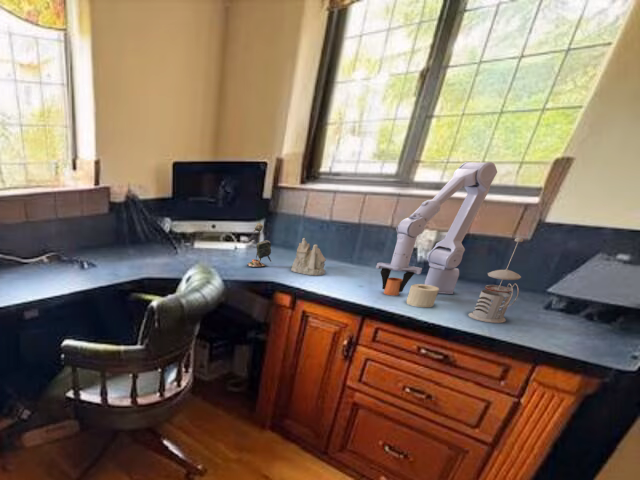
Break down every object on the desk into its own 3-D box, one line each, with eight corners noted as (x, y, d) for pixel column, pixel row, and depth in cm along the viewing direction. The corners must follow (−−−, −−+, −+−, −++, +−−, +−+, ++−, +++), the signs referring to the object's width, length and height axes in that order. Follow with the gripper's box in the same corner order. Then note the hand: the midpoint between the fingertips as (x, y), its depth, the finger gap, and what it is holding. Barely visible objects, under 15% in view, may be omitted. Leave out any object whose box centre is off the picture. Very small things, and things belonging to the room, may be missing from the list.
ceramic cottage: (315, 276, 183) (322, 240, 177) (283, 270, 195) (289, 237, 189) (335, 272, 192) (342, 238, 185) (303, 267, 204) (309, 235, 197)
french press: (491, 312, 140) (524, 234, 128) (518, 324, 130) (556, 241, 118) (461, 312, 140) (490, 234, 128) (485, 325, 130) (520, 241, 118)
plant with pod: (269, 268, 198) (275, 223, 188) (245, 267, 202) (250, 223, 192) (271, 264, 204) (277, 221, 195) (247, 263, 208) (252, 220, 199)
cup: (397, 292, 162) (401, 277, 159) (400, 296, 157) (404, 281, 155) (382, 291, 163) (386, 277, 160) (384, 295, 159) (388, 280, 156)
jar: (429, 301, 151) (435, 284, 148) (436, 308, 145) (442, 291, 142) (403, 299, 154) (408, 283, 151) (409, 306, 147) (414, 289, 144)
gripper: (377, 252, 155) (368, 288, 162) (422, 258, 146) (411, 296, 153) (383, 249, 159) (374, 284, 166) (427, 254, 151) (415, 291, 157)
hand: (392, 289), depth 160 cm, fingers closed on cup, 5 cm apart
